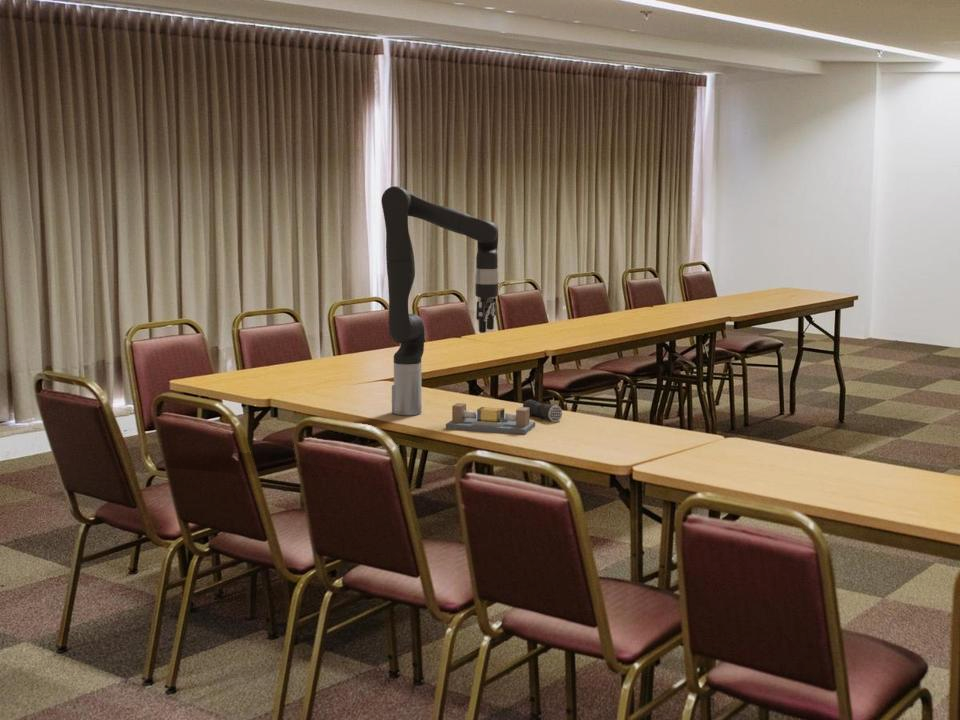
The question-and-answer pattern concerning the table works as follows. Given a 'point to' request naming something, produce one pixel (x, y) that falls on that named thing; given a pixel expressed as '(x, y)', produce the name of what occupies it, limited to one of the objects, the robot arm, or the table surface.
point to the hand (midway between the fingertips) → (486, 330)
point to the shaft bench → (510, 425)
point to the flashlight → (544, 410)
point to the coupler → (490, 414)
